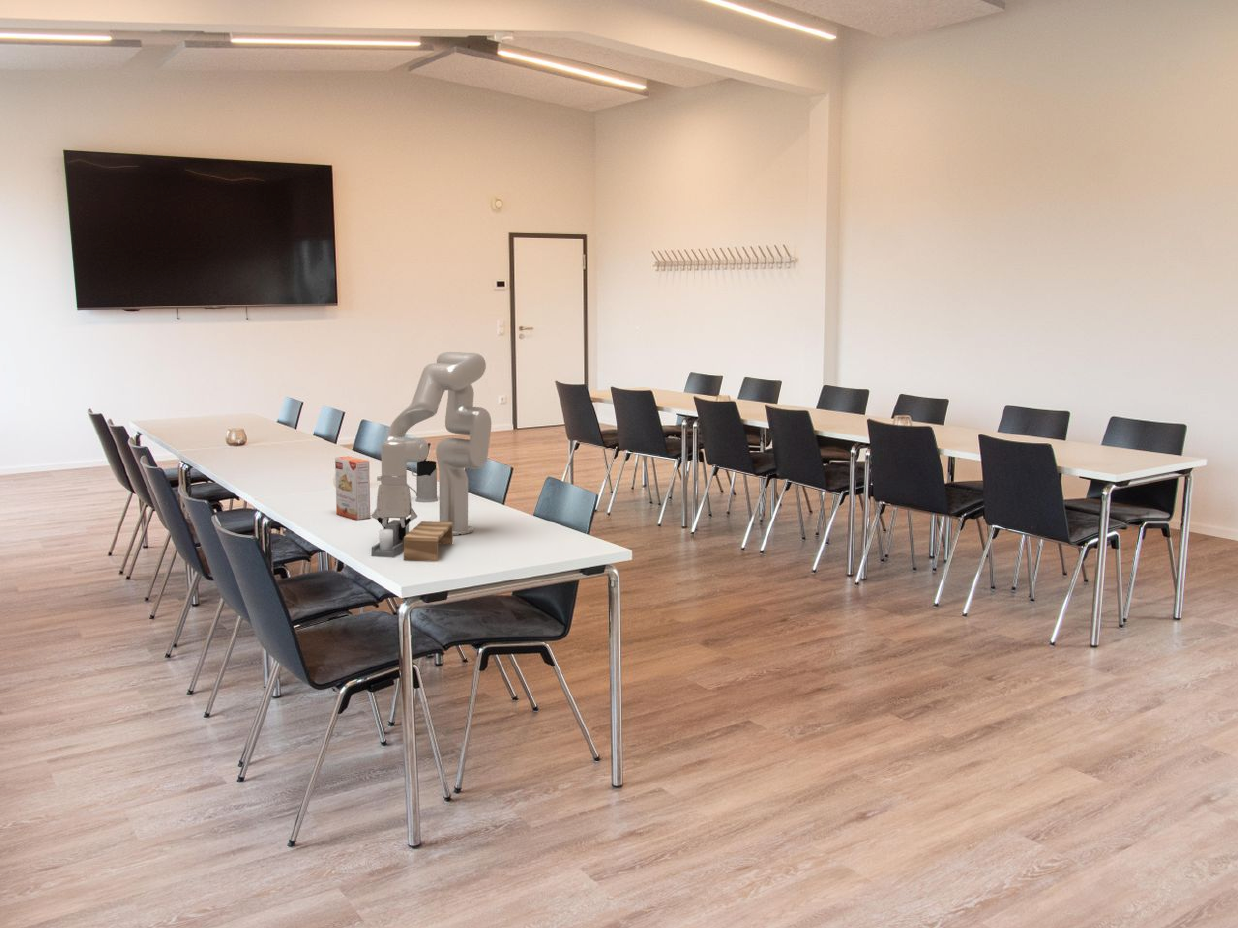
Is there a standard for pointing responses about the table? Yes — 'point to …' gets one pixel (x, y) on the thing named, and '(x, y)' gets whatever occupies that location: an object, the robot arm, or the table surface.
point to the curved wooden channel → (427, 540)
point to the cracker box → (352, 488)
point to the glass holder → (426, 481)
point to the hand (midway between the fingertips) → (394, 538)
